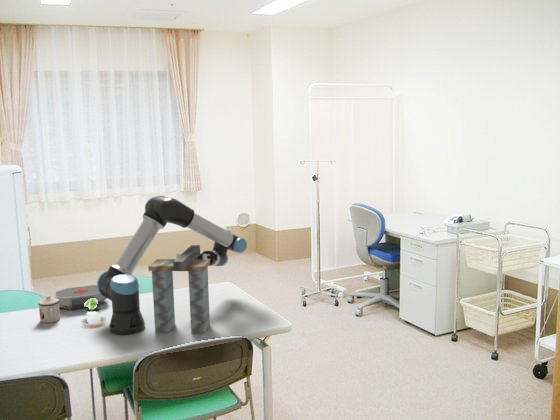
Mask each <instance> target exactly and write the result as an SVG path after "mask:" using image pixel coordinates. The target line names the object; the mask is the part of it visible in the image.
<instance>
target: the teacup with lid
mask: <svg viewBox="0 0 560 420" xmlns="http://www.w3.org/2000/svg"><path fill="white" fill-rule="evenodd" d="M37 304H38V309H39V310H38V311H39V321H40V322H41V323H43V324H48V323H49V322H50V323H54V322H58V321H59V320H60V318H61V312H60V306H59V300H58V299H57V298H55V297H51V295H49V294H48V295H46V296H45V298H43V299H41V300H39V301H38V302H37ZM50 323H49V324H50Z"/></svg>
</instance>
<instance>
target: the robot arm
mask: <svg viewBox="0 0 560 420" xmlns="http://www.w3.org/2000/svg"><path fill="white" fill-rule="evenodd" d="M195 212H196V211H194V209H192V208H191V207H189V206H188V205H186V204H185V203H183V202H181V201H180V200H178V199H176V198H174V197H168V196H164V195H154V196H152V197H150V198H149V199H148V200H147V201H146V203H145V205H144V213H143V214H142V219H143V221H142V222H141V223H140V225H139V227H138V228H137V230H136V232H135V233H134V234H133V236H132V238H131V240H130V241H129V242H128V244H127V246H126V247H125V249H124V251H123V252H122V253H121V255H120V257H119V258H118V260H117V261H116V263H114V264H112V265H110V266H109V268H108V270H106V271H104V272H103V273H101V274H100V275H99V277H98V278H97V281H96V285H97V288H98V291H99V292H100V293H101V294H102V295H103V296H104V297H106V298H107V299H108V300H110V301H111V304H112V305H111V307H112V316H111V318H110V323H109V332H110V333H111V334H114V335H117V336H118V335H119V336H121V335H123V336H124V335H132V334H133V335H134V334H136V333H139V332H141V331H143V330H144V329H145V327H146V323H145V320H144V317H143V314H142V312H141V307H140V291H139V287H140V284H139V280H138V278H137V277H136V276H135V275H133V273H134V271H135V269H136V268H137V266H138V264H139V263H140V261H141V259H142V258H143V257H144V255H145V253H146V252H147V249H148V248H149V247H150V245H151V244H152V242H153V240H154V239H155V237H156V235H157V234H158V232H159V231H160V230H162V229H165V227H166V225H167V223H168V224H172V225H177V226H179V227H181V228H183V229H185V228H187V229H189V230H191V231H194V232H196V233H198V234H200V235H201V236H204V237H205V238H207V239H209V240H211V241H213V242H214V243H213V247H212V249H211V250H204V251H203V252H201V253H200V254H199V255H198V256H197V258H196V259H195V260H210V265H209V266H208V267H210V266H211V267H222V266H225V265H226V264H227V263H228V261H229V256H228V255H227V253H228V251H231V252H234V253H239V254H241V253H244V252H245V251H246V250H247V247H248V242H247V240H246V238H242V237H241V236H237V235H236V234H234V233H232V231H231V230H228V229H224V228H222V227H221V226H219V225H217V224H215V223H213V222H212V221H210V220H208V219H206V218H204V217H203V216H201V215H199V214H197V213H195ZM181 254H182V253H181ZM181 254H179V253H177V254H176V259H177V258H178V257H179V256H180V255H181Z"/></svg>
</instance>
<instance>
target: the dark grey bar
mask: <svg viewBox="0 0 560 420" xmlns="http://www.w3.org/2000/svg"><path fill="white" fill-rule="evenodd" d="M199 254H201V245H200V244H191V245H190V246H189V247H188V248H187V249H186V250H184V251H183V252H182V253H181V255H180V256H179V257H178V258H177V257H176V258H174V259H175V260H174V261H173V270H174V271H173V272H185V271H184V270H185V269H186V268H187V267H188V266H189V265H190V264H191V263H192V262H193V261H194V260H195V259H196V258H197V256H199Z"/></svg>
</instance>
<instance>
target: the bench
mask: <svg viewBox="0 0 560 420" xmlns="http://www.w3.org/2000/svg"><path fill="white" fill-rule="evenodd" d="M175 259H176V258H165V259H164V258H163V259H161V258H160V259H159V258H158V259H156V260H155V261H153V262H152V263H151V264H150V265H148V272H151V280H152V281H151V282H152V283H151V284H152V298H153V314H154V315H153V317H154V330H155V331H154V333H156V334H157V333H160V334H161V333H163V334H168V333H170V332H171V330H172V329H173V328H174V327H175V326H176V318H175V317H176V315H175V312H176V311H175V298H174V297H175V295H174V275H173V274H174V273H173V272H175V271H174V270H173V261H174V260H175ZM209 265H210V260H194V261H193V262H192V263H191V264H190V265H189V266H188V267H187V268H186V269H185V270H184V271H183V272H188V291H189V292H188V293H189V296H188V297H189V314H190V315H189V316H190V333H191V334H206V332H207V330H208V329H209V327H210V326H211V325H210V324H211V319H210V299H209V298H210V297H209V294H210V293H209V273H208V272H209V270H208V268H209V267H210V266H209Z"/></svg>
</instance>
